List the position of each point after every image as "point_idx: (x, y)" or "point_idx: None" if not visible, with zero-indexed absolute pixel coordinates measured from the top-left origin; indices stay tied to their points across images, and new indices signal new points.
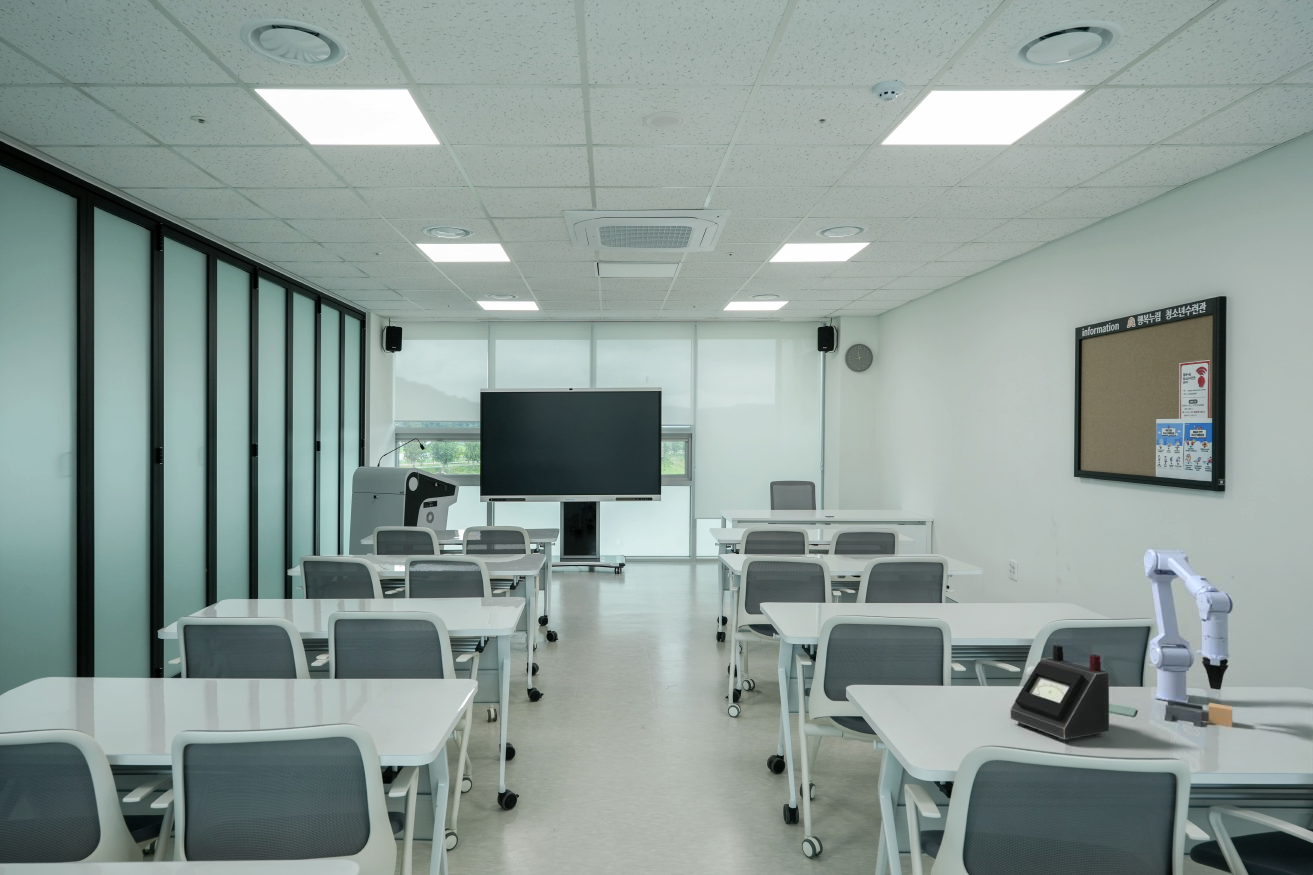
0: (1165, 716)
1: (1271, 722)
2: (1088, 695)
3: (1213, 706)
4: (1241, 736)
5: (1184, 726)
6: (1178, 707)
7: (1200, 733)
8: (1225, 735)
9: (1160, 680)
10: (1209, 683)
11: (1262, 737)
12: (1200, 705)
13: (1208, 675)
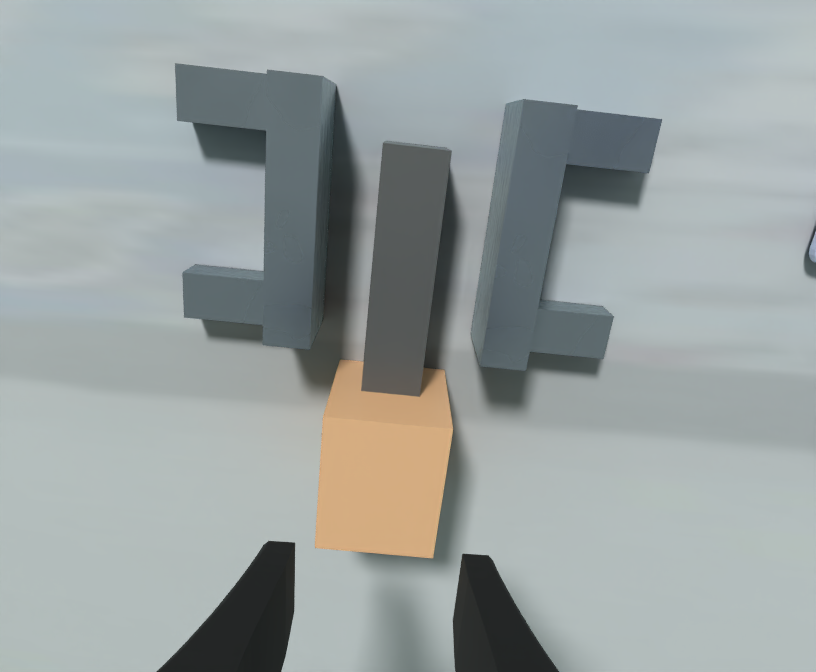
0: (179, 70)
1: (578, 645)
2: None
3: (339, 446)
4: (147, 494)
5: (114, 203)
6: (301, 183)
7: (14, 291)
8: (96, 422)
9: None
10: (246, 571)
11: (214, 579)
12: (496, 354)
13: (171, 661)
